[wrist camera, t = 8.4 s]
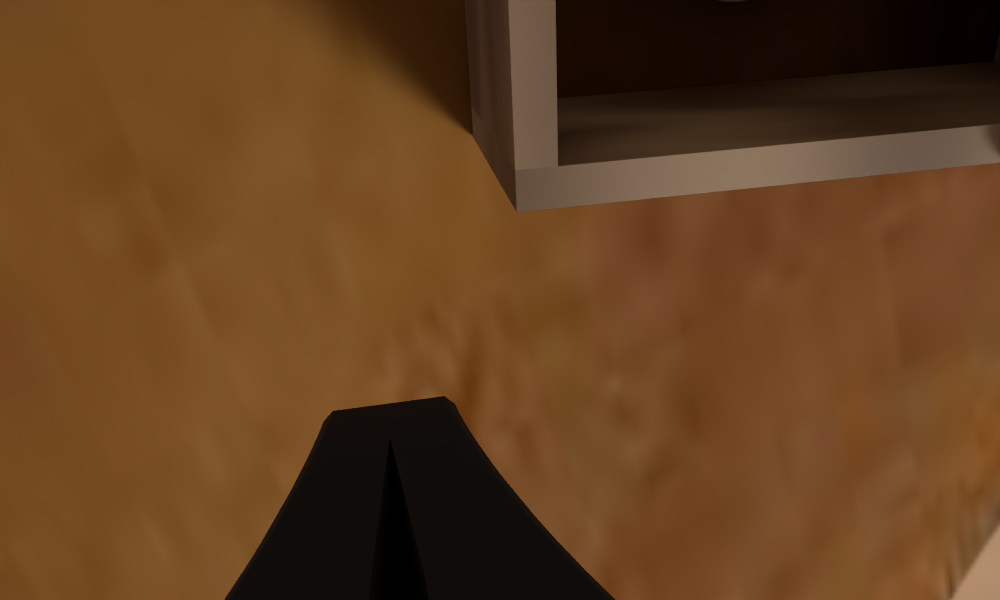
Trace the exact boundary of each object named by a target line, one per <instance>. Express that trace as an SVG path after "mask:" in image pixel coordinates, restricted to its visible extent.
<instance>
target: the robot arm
mask: <svg viewBox="0 0 1000 600" xmlns="http://www.w3.org/2000/svg"><path fill="white" fill-rule="evenodd" d="M225 600H615V599H614V598H613V597H612V596H611V595H610V594H609V593H608V592H607V591H606V590H605V589H604V588H603V587H602V586H601V585H600V584H599V583H598V582H597V581H596V580H595V579H594V578H593V577H592V576H591V575H590V574H589V573H587V572H586V571H585V569H584V568H583V567H582V566H581V565H580V564H579V563H578V562H577V561H576V560H575V559H574V558H573V557H572V556H571V555H570V554H569V553H568V552H567V551H566V550H565V549H564V548H563V547H562V545H561V544H560V543H559V542H558V541H557V540H556V539H555V538H554V537H553V536H552V535H551V534H550V533H549V531H548V530H547V529H546V528H545V527H544V526H543V525H542V524H541V522H540V521H539V520H538V519H537V518H536V517H535V516H534V514H533V513H532V512H531V511H530V510H529V508H528V507H527V506H526V505H525V504H524V502H523V501H522V500H521V499H520V498H519V496H518V495H517V494H516V493H515V492H514V490H513V489H512V488H511V487H510V486H509V484H508V483H507V482H506V481H505V480H504V478H503V477H502V476H501V474H500V473H499V472H498V470H497V469H496V468H495V466H494V465H493V464H492V462H491V461H490V460H489V458H488V457H487V455H486V454H485V453H484V451H483V450H482V448H481V447H480V446H479V444H478V443H477V441H476V440H475V438H474V437H473V435H472V434H471V432H470V431H469V429H468V427H467V426H466V424H465V423H464V421H463V419H462V417H461V415H460V414H459V412H458V410H457V408H456V405H455V404H454V403H453V402H451V401H450V400H449V399H447V398H446V397H445V396H442V397H435V398H427V399H420V400H412V401H405V402H397V403H390V404H382V405H375V406H367V407H360V408H352V409H345V410H337V411H333V412H332V413H331V414H330V415H329V416H328V417H327V418H326V419H325V421H324V422H323V425H322V427H321V430H320V432H319V434H318V437H317V439H316V441H315V443H314V446H313V448H312V450H311V452H310V454H309V456H308V458H307V460H306V462H305V464H304V466H303V468H302V470H301V472H300V474H299V476H298V478H297V480H296V482H295V484H294V486H293V488H292V490H291V491H290V493H289V495H288V497H287V499H286V500H285V502H284V504H283V506H282V507H281V509H280V511H279V513H278V514H277V516H276V518H275V519H274V521H273V523H272V525H271V526H270V528H269V530H268V532H267V533H266V535H265V537H264V539H263V540H262V542H261V544H260V545H259V547H258V549H257V550H256V552H255V554H254V555H253V557H252V558H251V560H250V562H249V563H248V565H247V566H246V568H245V569H244V571H243V572H242V574H241V575H240V577H239V578H238V580H237V581H236V583H235V584H234V586H233V587H232V589H231V590H230V592H229V593H228V595H227V596H226V598H225Z"/></svg>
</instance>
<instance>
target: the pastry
mask: <svg viewBox="0 0 1000 600" xmlns="http://www.w3.org/2000/svg"><path fill="white" fill-rule="evenodd" d="M715 1H726V2H739V1H747V0H715Z"/></svg>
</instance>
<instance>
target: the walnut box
mask: <svg viewBox="0 0 1000 600" xmlns="http://www.w3.org/2000/svg"><path fill="white" fill-rule="evenodd" d="M464 1H465V16H466V32H467V48H468V63H469V79H470V95H471V111H472V126H473V138H474V139H475V141H476V143H477V144H478V146H479V148H480V150H481V151H482V153H483V155H484V156H485V158H486V160H487V162H488V163H489V165H490V167H491V168H492V170H493V172H494V174H495V175H496V177H497V179H498V180H499V182H500V184H501V186H502V187H503V189H504V191H505V193H506V194H507V196H508V198H509V199H510V201H511V203H512V205H513V206H514V208H515V210H516V211H517V212H523V211H532V210H542V209H552V208H561V207H571V206H581V205H590V204H600V203H610V202H620V201H629V200H639V199H649V198H658V197H668V196H678V195H687V194H697V193H707V192H717V191H726V190H736V189H746V188H755V187H765V186H775V185H784V184H794V183H804V182H814V181H823V180H833V179H843V178H852V177H862V176H872V175H881V174H891V173H901V172H911V171H920V170H930V169H940V168H949V167H959V166H969V165H978V164H988V163H998V162H1000V34H999V39H998V43H997V48H996V52H995V57H994V61H993V62H981V63H969V64H957V65H945V66H933V67H921V68H909V69H897V70H886V71H874V72H862V73H850V74H838V75H826V76H814V77H802V78H790V79H778V80H767V81H755V82H743V83H731V84H719V85H707V86H695V87H683V88H671V89H659V90H648V91H636V92H624V93H612V94H600V95H588V96H576V97H564V98H557V66H556V1H555V0H464Z"/></svg>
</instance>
